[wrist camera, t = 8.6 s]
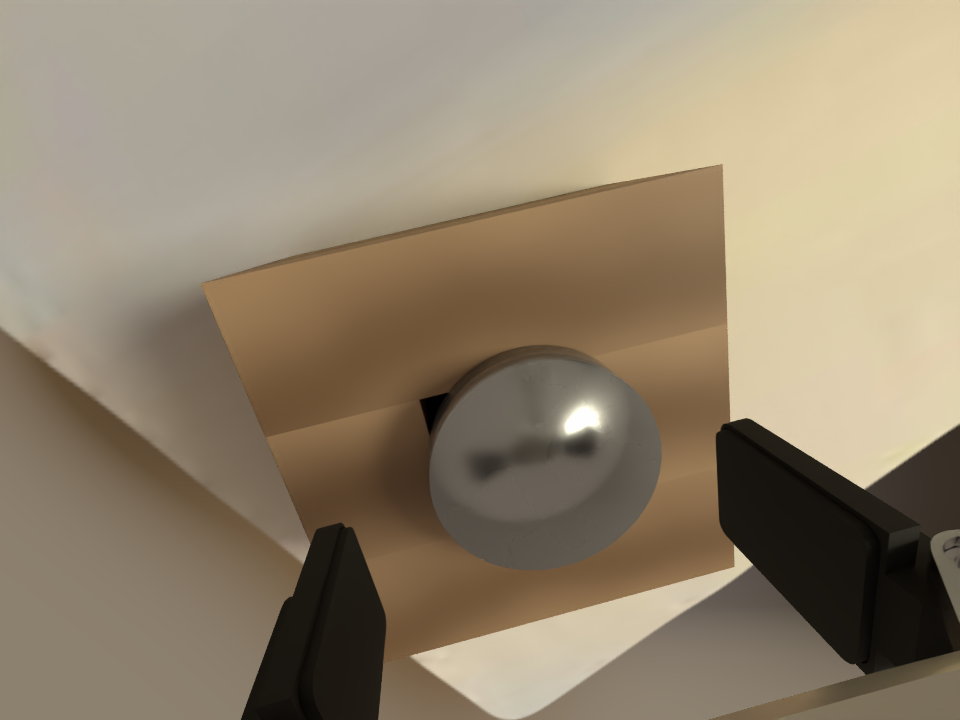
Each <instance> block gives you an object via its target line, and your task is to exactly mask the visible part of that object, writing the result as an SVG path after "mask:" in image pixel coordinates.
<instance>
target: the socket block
mask: <svg viewBox="0 0 960 720" xmlns="http://www.w3.org/2000/svg"><path fill="white" fill-rule="evenodd" d="M201 286H202V289H203V291H204V293H205V296H206V298H207V301H208V303H209V305H210V308H211V310H212V312H213V315H214V317H215V319H216V322H217V324H218V326H219V329H220V331H221V334H222V336H223V338H224V341H225V343H226V345H227V348H228V350H229V352H230V355H231V357H232V359H233V362H234V364H235V367H236V369H237V371H238V374H239V376H240V378H241V381H242V383H243V385H244V388H245V390H246V393H247V395H248V397H249V400H250V402H251V404H252V407H253V409H254V411H255V414H256V416H257V418H258V421H259V423H260V426H261V428H262V430H263V433H264V435H265V437H266V440H267V442H268V444H269V447H270V449H271V452H272V454H273V456H274V459H275V461H276V463H277V466H278V468H279V470H280V473H281V475H282V477H283V480H284V482H285V485H286V487H287V489H288V492H289V494H290V496H291V499H292V501H293V503H294V506H295V508H296V511H297V513H298V515H299V518H300V520H301V522H302V525H303V527H304V529H305V532H306V534H307V536H308V539H309V541H310V544H311V542H312V539H313V536H314V533H315V531H316V530H317V529H318V528H322V527H326V526H329V525H333V524H337V523H343V524H344V525H345V527H346V528H347V527H352V528H353V529H354V531H355V534H356V537H357V539H358V542H359V545H360V547H361V550H362V553H363V555H364V558H365V560H366V563H367V566H368V568H369V571H370V574H371V576H372V579H373V582H374V584H375V587H376V590H377V592H378V595H379V597H380V600H381V603H382V605H383V608H384V611H385V615H386V638H385V649H384V660H383V663H385V662H388V661H392V660H396V659H399V658H403V657H407V656H410V655H414V654H418V653H421V652H425V651H429V650H432V649H436V648H440V647H443V646H447V645H451V644H454V643H458V642H461V641H465V640H469V639H472V638H476V637H480V636H483V635H487V634H491V633H494V632H498V631H502V630H505V629H509V628H513V627H516V626H520V625H524V624H527V623H531V622H535V621H538V620H542V619H546V618H549V617H553V616H556V615H560V614H564V613H567V612H571V611H575V610H578V609H582V608H586V607H589V606H593V605H597V604H600V603H604V602H608V601H611V600H615V599H619V598H622V597H626V596H630V595H633V594H637V593H641V592H644V591H648V590H651V589H655V588H659V587H662V586H666V585H670V584H673V583H677V582H681V581H684V580H688V579H692V578H695V577H699V576H703V575H706V574H710V573H714V572H717V571H721V570H725V569H728V568H732V567H734V544H733V543H732V541H731V540H730V539H729V538H728V537H727V536H726V535H725V534H724V532H723V530H722V528H721V526H720V523H719V508H718V485H717V461H716V433H717V432H719V431H720V429H721V426H722V425H723V424H725V423H729V422H730V401H729V367H728V333H727V300H726V266H725V233H724V199H723V166H722V165H716V166H710V167H705V168H699V169H693V170H687V171H682V172H676V173H670V174H665V175H659V176H653V177H647V178H642V179H636V180H630V181H625V182H619V183H613V184H608V185H603V186H599V187H594V188H590V189H585V190H581V191H577V192H572V193H568V194H563V195H559V196H555V197H550V198H546V199H542V200H537V201H533V202H528V203H524V204H520V205H515V206H511V207H507V208H502V209H498V210H493V211H489V212H485V213H480V214H476V215H471V216H467V217H463V218H458V219H454V220H450V221H445V222H441V223H436V224H432V225H428V226H423V227H419V228H415V229H410V230H406V231H401V232H397V233H393V234H388V235H384V236H379V237H375V238H371V239H366V240H362V241H358V242H353V243H349V244H344V245H340V246H336V247H331V248H327V249H322V250H318V251H314V252H309V253H305V254H301V255H296V256H292V257H288V258H285V259H281V260H278V261H275V262H271V263H268V264H265V265H262V266H258V267H255V268H252V269H248V270H245V271H242V272H238V273H235V274H232V275H228V276H225V277H222V278H218V279H215V280H212V281H208V282H205V283H202V284H201ZM529 345H556V346H563V347H567V348H572V349H575V350H578V351H580V352H583V353H586V354H588V355H590V356H591V357H593V358H595V359H597V360H598V361H600V362H601V363H603V364H604V365H605V366H607V367H608V368H609V369H610V370H612V371H613V372H614V373H615V374H616V375H618V376H619V377H620V378H621V379H623V380H624V381H625V382H626V383H627V384H629V385H630V386H631V387H632V388H633V389H634V390H635V391H636V392H637V393H638V394H639V395H640V396H641V397H642V398H643V400H644V401H645V403H646V404H647V405H648V407H649V408H650V410H651V412H652V414H653V416H654V418H655V420H656V423H657V427H658V430H659V433H660V439H661V445H662V460H661V468H660V474H659V478H658V481H657V485H656V487H655V490H654V492H653V495H652V497H651V499H650V501H649V503H648V504H647V506H646V508H645V510H644V511H643V512H642V514H641V515H640V517H639V518H638V519H637V521H636V522H635V523H634V524H633V525H632V526H631V527H630V528H629V530H628V531H627V532H625V533H624V534H623V535H622V536H621V537H620V538H619V539H618V540H616V541H615V542H614V543H612V544H611V545H609V546H608V547H607V548H605V549H604V550H602V551H600V552H598V553H597V554H595V555H593V556H591V557H589V558H586V559H584V560H582V561H580V562H576V563H573V564H570V565H567V566H563V567H558V568H554V569H546V570H517V569H510V568H505V567H501V566H497V565H494V564H491V563H489V562H486V561H484V560H482V559H480V558H478V557H476V556H474V555H472V554H471V553H469V552H468V551H467V550H465V549H464V548H462V547H461V546H460V545H459V544H458V543H457V542H456V541H455V540H454V539H453V538H452V537H451V536H450V535H449V533H448V532H447V531H446V530H445V528H444V527H443V525H442V523H441V521H440V520H439V518H438V516H437V513H436V511H435V508H434V506H433V502H432V497H431V493H430V480H429V439H430V432H431V428H432V424H433V421H434V418H435V416H436V413H437V411H438V408H439V407H440V402H439V398H438V395H440V394H444V393H448V392H449V391H450V390H451V388H452V387H453V386H454V385H455V384H456V383H457V382H458V381H459V380H460V379H461V378H462V376H463V375H465V374H466V373H467V372H468V371H470V370H471V369H472V368H474V367H475V366H476V365H478V364H480V363H481V362H483V361H485V360H486V359H488V358H490V357H492V356H494V355H497V354H499V353H501V352H504V351H507V350H511V349H514V348H518V347H524V346H529Z"/></svg>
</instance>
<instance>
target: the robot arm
mask: <svg viewBox="0 0 960 720" xmlns="http://www.w3.org/2000/svg"><path fill="white" fill-rule="evenodd" d="M716 461H717V485H718V508H719V523H720V526H721V528H722V530H723V532H724V534H725V535H726V536H727V537H728V538H729V539H730V540H731V541H732V543H733V544H734V545H735V546H736V547H737V548H738V549H739V550H740V551H741V552H742V553H743V554H744V555H745V556H746V557H747V558H748V559H749V560H750V562H751V563H752V564H753V565H754V566H755V567H756V568H757V569H758V570H759V571H760V572H761V573H762V574H763V575H764V576H765V577H766V578H767V579H768V580H769V582H770V583H771V584H772V585H773V586H774V587H775V588H776V589H777V590H778V591H779V592H780V593H781V594H782V595H783V596H784V597H785V598H786V600H787V601H788V602H789V603H790V604H791V605H792V606H793V607H794V608H795V609H796V610H797V611H798V612H799V613H800V614H801V615H802V616H803V618H804V619H805V620H806V621H807V622H808V623H809V624H810V625H811V626H812V627H813V628H814V629H815V630H816V631H817V632H818V633H819V634H820V635H821V636H822V637H823V639H824V640H825V641H826V642H827V643H828V644H829V645H830V646H831V647H832V648H833V649H834V650H835V651H836V652H837V653H838V654H839V655H840V657H841V658H843V659H844V660H845V661H846V662H848V663H850V664H856V665H857V666H858V667H859V668H860V669H861V670H862V671H863V672H864V673H865V674H866V675H865V676H861V677H858V678H854V679H850V680H847V681H843V682H840V683H837V684H833V685H829V686H826V687H822V688H819V689H815V690H812V691H808V692H805V693H801V694H797V695H794V696H790V697H787V698H783V699H780V700H776V701H773V702H770V703H766V704H762V705H759V706H755V707H751V708H748V709H744V710H741V711H738V712H735V713H731V714H727V715H724V716H720V717H717V718H713V719H710V720H960V530H951V531H944V532H942V533H939V534H937V535H935V536H934V538H933V539H931V538H929V537H928V536H926V535H925V534H923V533H922V532H920V528H921V525H920V524H918V523H917V522H915V521H914V520H912V519H910V518H908V517H907V516H906V515H904V514H902V513H901V512H899V511H898V510H896V509H894V508H893V507H891V506H889V505H888V504H886V503H885V502H883V501H881V500H880V499H878V498H876V497H875V496H873V495H872V494H870V493H869V492H867V491H865V490H864V489H862V488H861V487H859V486H857V485H856V484H854V483H852V482H851V481H849V480H848V479H846V478H844V477H843V476H841V475H840V474H838V473H836V472H835V471H833V470H832V469H830V468H828V467H827V466H825V465H823V464H822V463H820V462H819V461H817V460H815V459H814V458H812V457H811V456H809V455H807V454H806V453H804V452H802V451H801V450H799V449H798V448H796V447H794V446H793V445H791V444H790V443H788V442H786V441H785V440H783V439H782V438H780V437H778V436H777V435H775V434H773V433H772V432H770V431H769V430H767V429H765V428H764V427H762V426H761V425H759V424H757V423H756V422H754V421H753V420H751V419H748V418H745V419H741V420H737V421H733V422H729V423H725V424H723V425H722V426H721V429H720V431H719V432H717V433H716ZM385 638H386V615H385V611H384V608H383V605H382V603H381V600H380V597H379V595H378V592H377V590H376V587H375V584H374V582H373V579H372V576H371V574H370V571H369V568H368V566H367V563H366V560H365V558H364V555H363V553H362V550H361V547H360V545H359V542H358V539H357V537H356V534H355V531H354V529H353V528H352V527H347V528H346V527H345V525H344V524H343V523H337V524H333V525H329V526H326V527H322V528H318V529H317V530H316V531H315V533H314V536H313V539H312V542H311V545H310V548H309V551H308V554H307V557H306V560H305V562H304V565H303V568H302V571H301V574H300V577H299V580H298V583H297V586H296V588H295V592H294V594H293V597H289V598H288V599H287V600H286V601H285V602H284V604H283V606H282V608H281V611H280V614H279V616H278V619H277V622H276V625H275V627H274V630H273V633H272V636H271V638H270V641H269V644H268V646H267V649H266V652H265V655H264V658H263V660H262V663H261V666H260V668H259V671H258V674H257V676H256V679H255V682H254V685H253V687H252V690H251V693H250V696H249V698H248V701H247V704H246V707H245V710H244V713H243V715H242V718H241V720H378V714H379V703H380V692H381V682H382V670H383V660H384V649H385Z"/></svg>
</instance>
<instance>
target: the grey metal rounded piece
mask: <svg viewBox="0 0 960 720" xmlns="http://www.w3.org/2000/svg"><path fill="white" fill-rule="evenodd" d="M661 460H662V445H661V439H660V433H659V430H658V427H657V423H656V420H655V418H654V416H653V414H652V412H651V410H650V408H649V407H648V405H647V404H646V403H645V401H644V400H643V398H642V397H641V396H640V395H639V394H638V393H637V392H636V391H635V390H634V389H633V388H632V387H631V386H630V385H629V384H627V383H626V382H625V381H624V380H623V379H621V378H620V377H619V376H618V375H616V374H615V373H614V372H613V371H612V370H610V369H609V368H608V367H607V366H605V365H604V364H603V363H601V362H600V361H598V360H597V359H595V358H593V357H591V356H590V355H588V354H586V353H583V352H580V351H578V350H575V349H572V348H567V347H563V346H556V345H529V346H524V347H518V348H514V349H511V350H507V351H504V352H501V353H499V354H497V355H494V356H492V357H490V358H488V359H486V360H485V361H483V362H481V363H480V364H478V365H476V366H475V367H474V368H472V369H471V370H470V371H468V372H467V373H466V374H465V375H463V376H462V378H461V379H460V380H459V381H458V382H457V383H456V384H455V385H454V386H453V387H452V388H451V390H450V391H449V392H448V394H447V395H446V396H445V398H444V400H443V401H442V403H441V405H440V407H439V408H438V411H437V413H436V416H435V418H434V421H433V424H432V428H431V432H430V439H429V480H430V493H431V497H432V502H433V506H434V508H435V511H436V513H437V516H438V518H439V520H440V521H441V523H442V525H443V527H444V528H445V530H446V531H447V532H448V533H449V535H450V536H451V537H452V538H453V539H454V540H455V541H456V542H457V543H458V544H459V545H460V546H461V547H462V548H464V549H465V550H467V551H468V552H469V553H471V554H472V555H474V556H476V557H478V558H480V559H482V560H484V561H486V562H489V563H491V564H494V565H497V566H501V567H505V568H510V569H517V570H546V569H554V568H558V567H563V566H567V565H570V564H573V563H576V562H580V561H582V560H584V559H586V558H589V557H591V556H593V555H595V554H597V553H598V552H600V551H602V550H604V549H605V548H607V547H608V546H609V545H611V544H612V543H614V542H615V541H616V540H618V539H619V538H620V537H621V536H622V535H623V534H624V533H625V532H627V531H628V530H629V528H630V527H631V526H632V525H633V524H634V523H635V522H636V521H637V519H638V518H639V517H640V515H641V514H642V512H643V511H644V510H645V508H646V506H647V504H648V503H649V501H650V499H651V497H652V495H653V492H654V490H655V487H656V485H657V481H658V478H659V474H660V468H661Z"/></svg>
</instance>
